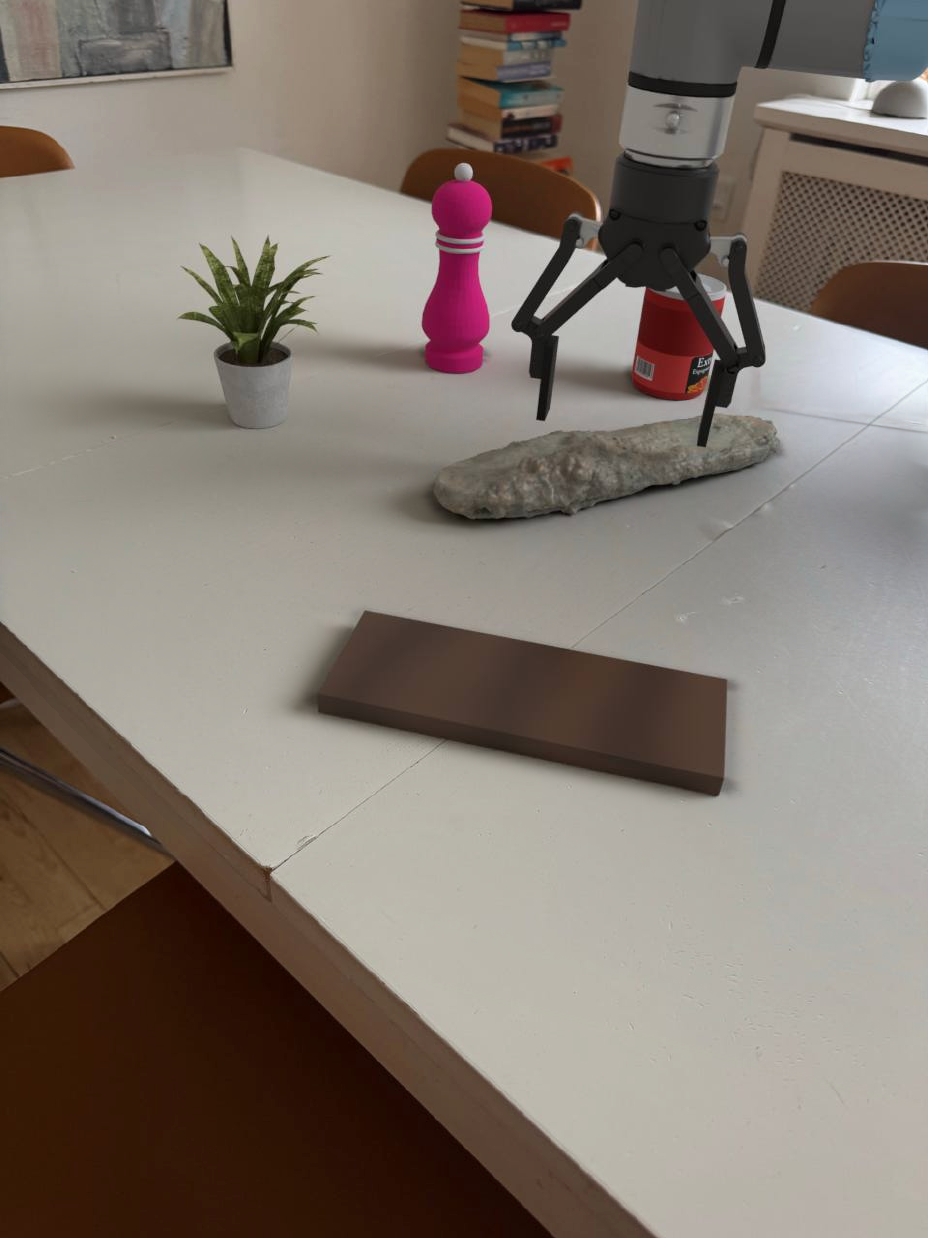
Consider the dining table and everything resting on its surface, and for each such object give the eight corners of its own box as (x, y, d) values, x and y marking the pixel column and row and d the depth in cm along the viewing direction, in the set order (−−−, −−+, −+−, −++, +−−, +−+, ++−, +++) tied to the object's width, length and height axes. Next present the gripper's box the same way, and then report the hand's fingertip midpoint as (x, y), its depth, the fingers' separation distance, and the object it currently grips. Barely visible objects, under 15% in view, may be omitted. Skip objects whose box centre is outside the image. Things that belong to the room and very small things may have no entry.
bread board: (722, 697, 62) (727, 679, 61) (719, 796, 55) (724, 778, 54) (364, 627, 66) (364, 609, 65) (317, 712, 58) (316, 693, 57)
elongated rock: (799, 482, 89) (726, 442, 96) (814, 427, 86) (738, 391, 94) (468, 542, 74) (411, 490, 81) (474, 478, 71) (415, 430, 78)
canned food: (700, 406, 99) (723, 299, 92) (623, 392, 101) (640, 286, 94) (709, 380, 105) (731, 277, 98) (636, 367, 107) (653, 265, 100)
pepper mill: (473, 380, 101) (487, 174, 89) (410, 367, 103) (415, 164, 91) (495, 357, 107) (511, 161, 95) (435, 345, 109) (442, 151, 97)
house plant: (343, 455, 86) (340, 267, 76) (182, 458, 83) (158, 266, 74) (334, 390, 97) (330, 220, 87) (192, 392, 95) (172, 217, 85)
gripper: (489, 144, 69) (469, 421, 81) (851, 187, 65) (771, 470, 77) (510, 127, 75) (488, 387, 87) (843, 166, 71) (769, 432, 83)
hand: (621, 427), depth 82 cm, fingers open, 13 cm apart
